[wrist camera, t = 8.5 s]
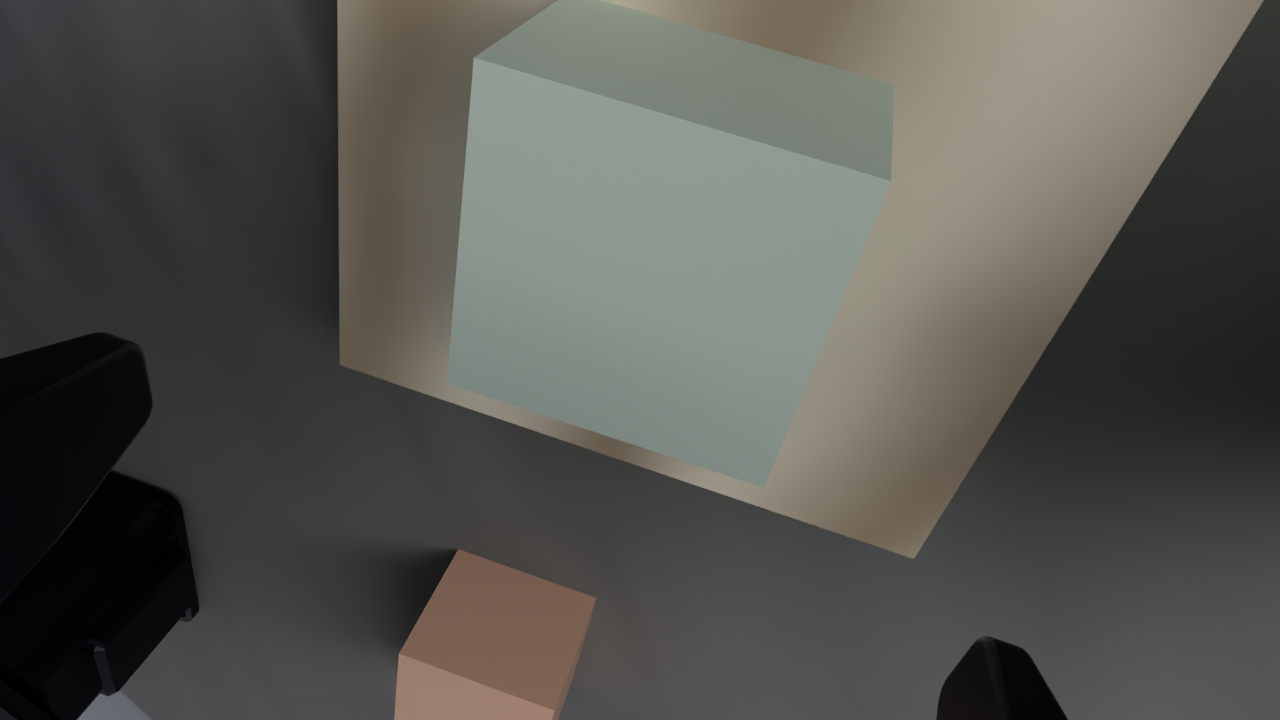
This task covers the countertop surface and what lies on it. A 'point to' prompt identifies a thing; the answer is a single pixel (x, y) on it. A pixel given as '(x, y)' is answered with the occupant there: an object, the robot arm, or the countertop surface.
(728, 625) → the countertop surface
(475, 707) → the terracotta cube
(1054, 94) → the birch plinth
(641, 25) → the sage block
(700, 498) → the countertop surface
